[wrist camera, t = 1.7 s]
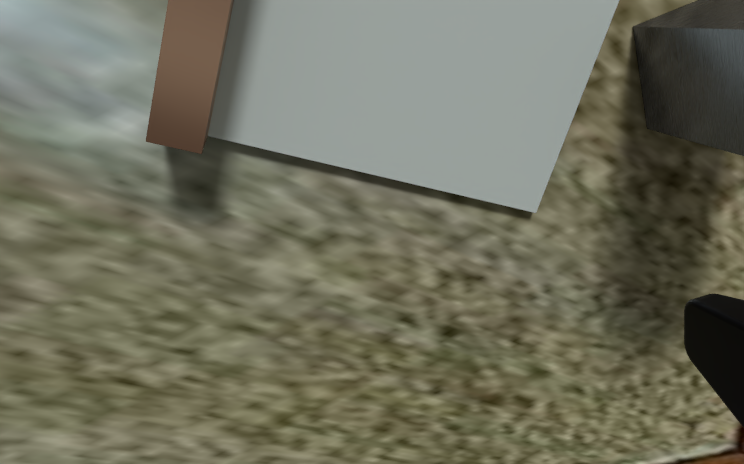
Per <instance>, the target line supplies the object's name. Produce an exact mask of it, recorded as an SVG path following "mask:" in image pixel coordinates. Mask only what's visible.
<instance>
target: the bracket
mask: <svg viewBox="0 0 744 464" xmlns="http://www.w3.org/2000/svg"><path fill="white" fill-rule="evenodd" d="M633 30H634V37H635V44H636V51H637V59H638V66H639V73H640V80H641V87H642V95H643V102H644V109H645V116H646V123H647V129H650V130H654V131H657V132H661V133H664V134H668V135H671V136H675V137H678V138H682V139H685V140H689V141H692V142H696V143H699V144H703V145H707V146H710V147H714V148H717V149H721V150H724V151H728V152H731V153H735V154H738V155H742V156H744V0H697V1H695V2H692V3H690V4H688V5H685V6H683V7H680V8H678V9H675V10H673V11H670V12H668V13H665V14H663V15H660V16H658V17H655V18H653V19H650V20H648V21H646V22H643V23H641V24H638V25H636V26H633Z"/></svg>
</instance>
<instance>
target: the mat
mask: <svg viewBox="0 0 744 464" xmlns="http://www.w3.org/2000/svg"><path fill="white" fill-rule="evenodd" d="M618 2H619V0H234V3H233V9H232V14H231V19H230V24H229V29H228V34H227V39H226V45H225V50H224V55H223V60H222V65H221V70H220V75H219V81H218V86H217V91H216V96H215V101H214V106H213V111H212V116H211V122H210V127H209V132H208V136H210V137H214V138H219V139H223V140H227V141H231V142H236V143H240V144H244V145H248V146H253V147H257V148H261V149H265V150H270V151H274V152H278V153H282V154H287V155H291V156H295V157H299V158H304V159H308V160H312V161H317V162H321V163H325V164H329V165H334V166H338V167H342V168H346V169H351V170H355V171H359V172H363V173H368V174H372V175H376V176H380V177H385V178H389V179H393V180H397V181H402V182H406V183H410V184H414V185H419V186H423V187H427V188H431V189H436V190H440V191H444V192H448V193H453V194H457V195H461V196H465V197H470V198H474V199H478V200H483V201H487V202H491V203H495V204H500V205H504V206H508V207H512V208H517V209H521V210H525V211H529V212H534V213H536V211H537V209H538V206H539V204H540V201H541V199H542V196H543V194H544V191H545V188H546V186H547V183H548V181H549V178H550V176H551V173H552V171H553V168H554V165H555V163H556V160H557V158H558V155H559V153H560V150H561V148H562V145H563V142H564V140H565V137H566V135H567V132H568V130H569V127H570V125H571V122H572V119H573V117H574V114H575V112H576V109H577V107H578V104H579V102H580V99H581V96H582V94H583V91H584V89H585V86H586V84H587V81H588V79H589V76H590V74H591V71H592V68H593V66H594V63H595V61H596V58H597V56H598V53H599V51H600V48H601V45H602V43H603V40H604V38H605V35H606V33H607V30H608V28H609V25H610V22H611V20H612V17H613V15H614V12H615V10H616V7H617V5H618Z"/></svg>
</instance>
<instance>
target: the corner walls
mask: <svg viewBox="0 0 744 464" xmlns="http://www.w3.org/2000/svg"><path fill="white" fill-rule="evenodd" d="M233 3H234V0H168V6H167V12H166V19H165V25H164V31H163V37H162V43H161V50H160V56H159V62H158V68H157V74H156V81H155V87H154V93H153V99H152V105H151V112H150V118H149V124H148V130H147V136H146V142H150V143H155V144H159V145H164V146H168V147H173V148H177V149H181V150H186V151H190V152H195V153H199V154H202V151H203V148H204V145H205V142H206V139H207V137H208V132H209V127H210V122H211V116H212V111H213V106H214V101H215V96H216V91H217V86H218V81H219V75H220V70H221V65H222V60H223V55H224V50H225V45H226V39H227V34H228V29H229V24H230V19H231V14H232V9H233Z"/></svg>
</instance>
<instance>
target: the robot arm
mask: <svg viewBox="0 0 744 464" xmlns="http://www.w3.org/2000/svg"><path fill="white" fill-rule="evenodd" d="M684 344H685V349H686V352H687V355H688V356H689V358H690V360H691V361H692V363H693V364H694V365H695V366H696V368H697V369H698V370H699V371H700V373H701V374H702V375H703V377H704V378H705V379H706V380H707V382H708V383H709V384H710V385H711V387H712V388H713V389H714V391H715V392H716V393H717V394H718V396H719V397H720V398H721V399H722V401H723V402H724V403H725V405H726V406H727V407H728V408H729V410H730V411H731V412H732V413H733V415H734V416H735V417H736V419H737V420H738V421H739V422H740V424H741V425H742V426H743V427H744V300H741V299H736V298H732V297H728V296H724V295H719V294H708V295H705V296H701V297H698V298H695V299H692V300H690V301H688V302H687V303H686V305H685V309H684Z"/></svg>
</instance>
